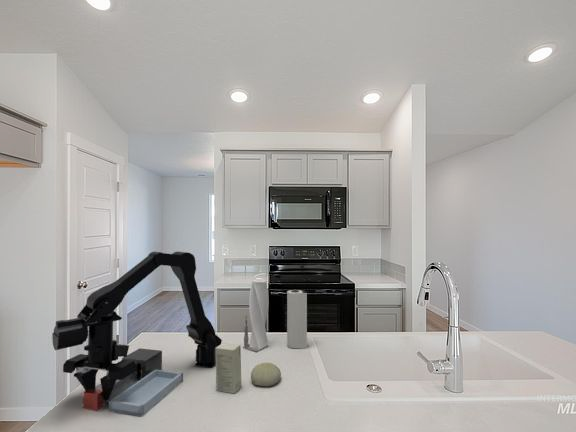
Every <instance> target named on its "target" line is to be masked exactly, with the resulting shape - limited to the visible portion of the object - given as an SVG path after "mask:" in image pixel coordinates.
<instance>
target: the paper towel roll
mask: <svg viewBox="0 0 576 432" xmlns="http://www.w3.org/2000/svg"><path fill="white" fill-rule="evenodd" d="M286 293H287V295H286V300H287V301H286V303H287V304H286V305H287V306H286V307H287V308H286V310H287V311H286V313H287V314H286V315H287V316H286V332H287V333H286V335H287V336H286V337H287V338H286V339H287V340H286V345H287V347H288V348H289V349H290V348H291V349H307V348H308V345H307V344H308V335H307V334H308V330H307V329H308V318H307V317H308V314H307V313H308V309H307V308H308V306H307V305H308V303H307V302H308V295H307V294H308V293H307V292H303V291H302V290H299V289H292V290H287V291H286Z"/></svg>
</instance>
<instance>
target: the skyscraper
mask: <svg viewBox="0 0 576 432" xmlns="http://www.w3.org/2000/svg"><path fill="white" fill-rule="evenodd" d="M258 276H264V278H263V277H258ZM266 278H267V273H257V274H256V275H254V276H253V277H252V279H251V284H250V290H249V299H248V300H249V301H248V302H249V303H248V305H249V306H248V307H249V309H248V310H249V318H250V322H251V323H250V324H251V327H252V328H251V333H250V341H249V335H248V334H249V325H248V319H247V318H248V315H247V314H245V321H244V323H245V325H244V326H243V327H244V329H243V330H244V336H243V347H242V349H244V350H247V351H251V352H254V353H258V352H260V351H262V350H264V349H267V348H269V342H268V341H269V340H268V335H267V330H266V323H267V318H268V312H269V305H270V303H269V301H270V300H269V289H268V283H267V279H266Z"/></svg>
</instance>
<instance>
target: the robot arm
mask: <svg viewBox="0 0 576 432" xmlns="http://www.w3.org/2000/svg"><path fill="white" fill-rule="evenodd" d="M161 266H168V267H170V268H171V270H172V272H173V274H174V275H175V277H177V279H178V281H179V283H180V286H181V290H182V294H183V297H184V300H185V301H184V302H185V303H186V306H187V308H186V309H187V311H188V315H189V319H190V322H189V324H187V325H185V328H186V330H187V335H188V337H189V338H191V339H192V340H193V342H194V344H195V345H197V346H196V349H195V363H194V367H200V368H202V367H203V368H209V369H211V368H214V367H215V366H216V352H215V348H216V347H218V346H219V345H221V344H222V343H223V342H222V341H223V339H221V337H219V336H218V335H217V334H216V330H215V328H214V326H213V324H212V322H211V321H210V320H209V319H208V317H207V316H206V314H205V309H204V307H203V303H202V299H201V295H200V292H199V288H198V284H197V282H196V278H195V275H196V271H197V264H196V258H195V255H194V254H193V253H191V252H186V251H173V253H166V252H161V251H152V252H150V253H148V255H147V256H146V257H145V258H144V259H141V260H140V262H138V263H137V264H136V265H135V266H133V267H131V268H130V269H129V270H128V271H127V272H126V273H124V274H123V275H122V276H120V277H119V278H118V279H117V280H115V281H114V282H112V283H109V284H107V285H104V286H103V287H100V288H99V289H97V290H95V291H94V292H92V293H90V295H88V296H87V298H86V303H85V305H84V306H83V308H82V309H81V310H80V312H79V313H78V314H77V316H76V318H71V319H61V320H56V321H55V326H54V328H53V332H52V335H51V339H52V346H53V349H54V351H58V350H64V349H68V348H72V347H77V346H81V345H83V344H84V342H85V343H86V341H87V344H86V345H85V346H83V350H84V351H86V352H87V354H83V353H80V354H77V355H75V356H72V357H71V358H68V359H67V360H65V362H64V363H63V364H62V365H63V366H62V372H63V373H66V374H72V373H74V372H76V373H74V374H73V377H74V378H76V379H77V381H79V383H80V385H81V386H82V388H83V389H84V392H85V391H86V390H88V389H92V388H94V387H96V386H97V385H96V384H97V383H96V382H97V373H98V372H99V371H105V372H106V374H105V375H104V376H103V377H101V378H100V379H99V380H100V381H99V382H100V384H101V386H102V391H103V397H104V400H105V401H107V400H108V399H109V398H110V395H111V392H112V390H113V387H114V385H115V382H116V380H122V379H124V378H126V377H127V376H129V375H131V374H132V373H134V372H135V371H137V363H136V362H135V361H133V360H125V359H123V360H122V359H121V360H120V361H118V362H117V363H115V361H117V360H119V358H123V357H127V355H128V353H129V350H130V349H129V347H130V345H129V344H128V345H127V344H119V343H118V341H117V340H115V339H114V322H117V321H121V320H123V317H122V316H120V315H119V314H118V313H117V312H116V311H115V310H116V309H117V307H119V305H120V304H121V303H122V302H123V300H124V299H125V296H126V295H127V294H128V293H129V292H130V291H131V290H133V289H134V288H135V287H136V286H138V284H140V283H141V282H142V281H144V279H146V278H147V277H148V276H150V275H151V274H152V273H153V272H154V271H155V270H156V269H157V268H159V267H161ZM113 361H114V362H113Z"/></svg>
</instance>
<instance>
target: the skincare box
mask: <svg viewBox="0 0 576 432" xmlns="http://www.w3.org/2000/svg"><path fill="white" fill-rule="evenodd" d="M241 349H242V347H241V344H235V343H224V342H221V345H219V346H218V347H216V348H215V352H216V364H215V390H216V391H218V392H225V393H230V394H235V393H237V392H238V390H240V389H241V388H242V355H241V354H242V353H241V352H242V351H241Z"/></svg>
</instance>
